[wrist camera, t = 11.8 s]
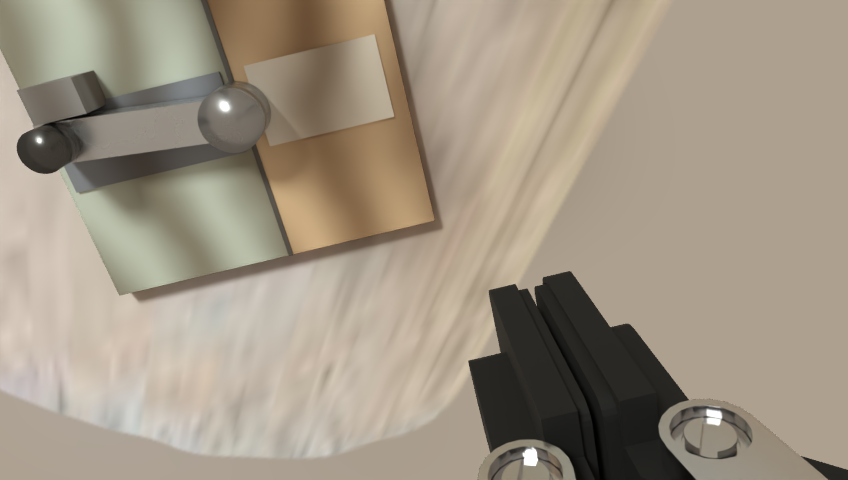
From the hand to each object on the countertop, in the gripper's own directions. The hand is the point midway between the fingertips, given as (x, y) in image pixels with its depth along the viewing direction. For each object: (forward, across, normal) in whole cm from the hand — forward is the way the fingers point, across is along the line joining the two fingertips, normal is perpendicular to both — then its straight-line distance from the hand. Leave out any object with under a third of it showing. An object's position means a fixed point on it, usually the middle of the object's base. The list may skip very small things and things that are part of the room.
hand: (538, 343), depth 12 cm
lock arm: (+28, +16, -2) cm, 32 cm away
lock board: (+29, +12, -2) cm, 32 cm away
